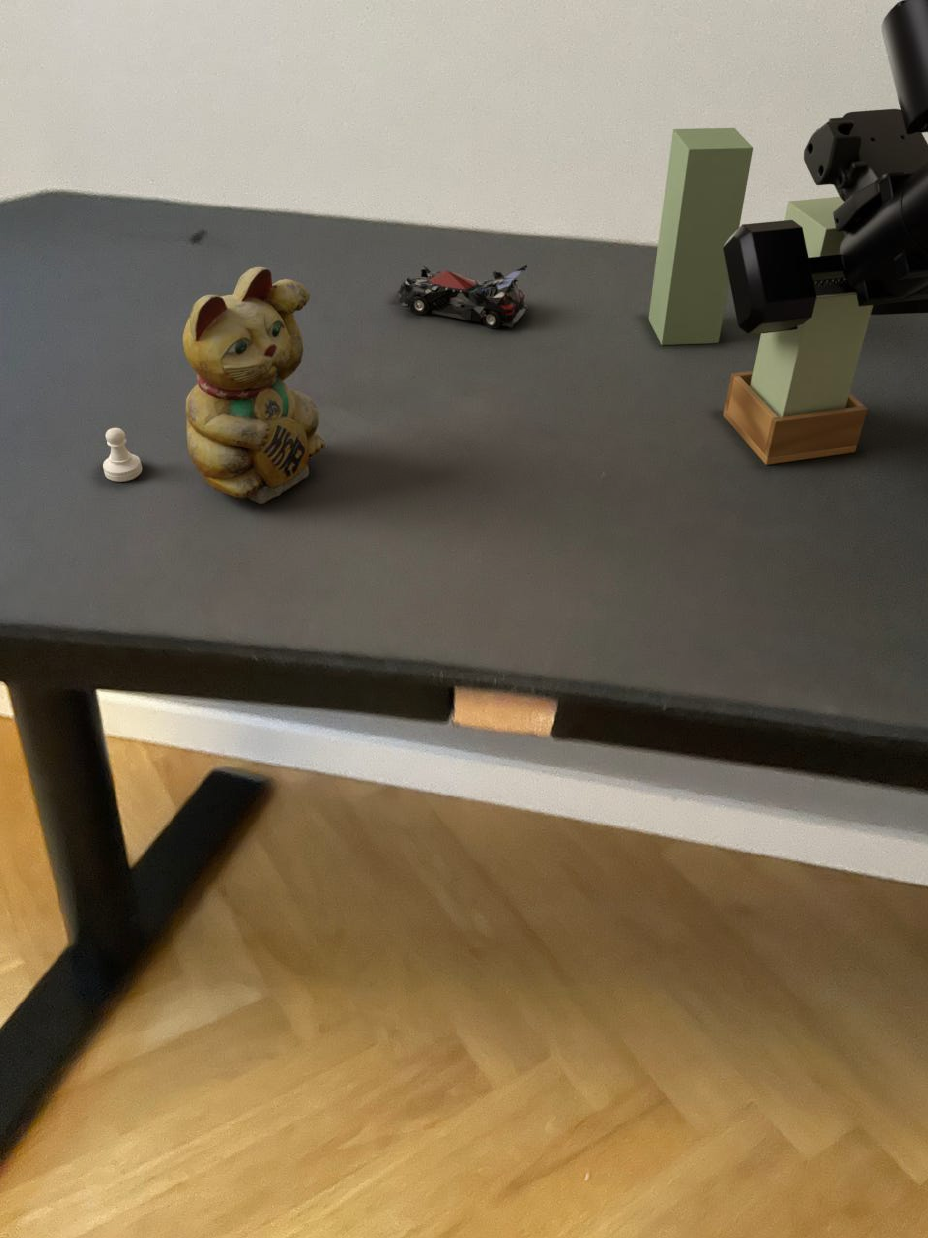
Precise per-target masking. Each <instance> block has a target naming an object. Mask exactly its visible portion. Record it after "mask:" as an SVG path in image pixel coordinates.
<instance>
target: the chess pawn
mask: <svg viewBox="0 0 928 1238" xmlns="http://www.w3.org/2000/svg"><path fill="white" fill-rule="evenodd" d="M105 439H106V441H107V442H106V445H107V446H108V447H110V454H109V456H108V457H107V458H106V459H105V460H104V461H103V464H102V467H103V472H104V476H105V477H106V478H107V479H108V480H109V481H112V482H117V483H122V482H129V481H132V480H134V479H136V478H137V477H139V476H140V475H141V474H142V473H143V465H142V462H141V458H140V457H139V456H138V455H136V454H133V453H131V452H130V451H128V449H127V448H126V446H125V444H126V443H127V439H126V433H125V432H124V430H123V429H121V428H119V427H111V428H109V429H107V431H106V432H105Z"/></svg>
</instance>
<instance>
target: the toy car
mask: <svg viewBox="0 0 928 1238" xmlns="http://www.w3.org/2000/svg"><path fill="white" fill-rule="evenodd" d="M527 268H528V264H524V265H523V266H521V267H519V268H517V269H516V270H514V271H512V272H511V273H509V274H507V275H505V276H504V275H503V274H502V272H501V271H497V270H493V271H492V277H493V278H492V279H487V280H476V279H473V278H471V277H467V276H464V275H462V274H459V273H456V272H453V271H450V270H448V269H445V270H444V271H442V272H441V270H439V271H431V270H430V269H429V267H427V266H424V265H421V268H420V270H421V271H420V272H421V274H420V277H417V278H411V277H407V278H406V280H405V279H404V280H403V281H402V284H401V285H400V287H399V289H398V290H397V291H396V296H397V297H398V298H399V300H397V303H399V304H400V305H401V306H402V307H405V308H409V309H411V311H412V312H413V313H414V314H416V315H421V316H423V315H426V314H427V313H428V312H429V311H430V310H431V314H433V315H438V316H443V317H447V318H453V319H458V320H463V321H472V322H473V321H474V322H483V324H484V325H485V326H486V327H488V328H490V329H497V328H499V327H500V326H501V327H505V326H506V327H508V328H513V327H514V324H516V323H517V322H518V321H519V320H520V319H521V318H522V316H523V315H524V313H525V311H526V310H528V309H529V307H528V304H526V303H524V302H525V294H524V291H522V290H521V289H520V288H519V287H518V285H517V282H519V279H517V278H518V277H519V275H520V274H521V273H522V272H524V271H526V269H527Z"/></svg>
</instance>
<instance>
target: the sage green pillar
mask: <svg viewBox="0 0 928 1238" xmlns="http://www.w3.org/2000/svg"><path fill="white" fill-rule="evenodd" d="M843 203H844V201H843V200H842V199H841V197H840V196H835V197H834V196H833V197H824V198H813V199H801V200H791V201H790V200H789V201H788V202H787V206H786V209H785V215H784V219H783V221H784V220H793V221H795V222H796V223H797V224H799V225H800V226H801V227H803V232H804V237H805V242H806V247H807V252H808V257H809V258H810V257H820V256H830V255H840V246H841V242H842V240H843V239H844V238H845V235H844V231H839V232H838V231H837V230H836V226H835V221H834V216H833V212H834V211H835V210H836V209H837V208H838V207H840V206H841V205H842V204H843ZM839 280H840V279H839ZM839 280H838V281H839ZM844 280H845V279H844ZM832 281H834V280H832ZM822 282H823V281H821V283H822ZM827 282H828V281H827ZM815 284H816V282H815ZM872 308H873V305H869V306H860V307H859V305H858V300H857V295H847V296H838V297H829V298H820V299H816V301H815V306H814V310H813V314H812V318H810V319H809V320H808V321H806V322H805V323H803V324H801V325H798V326H797V327H798V328H797V329H796V330H788V331H779V332H771V333H760V336H759V341H758V346H757V351H756V356H755V360H754V366H753V370H752V371H753V375H752V380H751V385H750V387H751V389H752V390H753V391H754V392H755V393H756V394H757V395H758V396H759V397H760V398H761V399H762V400H763V401H764V402H765V403H766V404H767V405H768V407H769V408H770V409H771V410H772V411H773V412H774V413H775V414H776V415H777V416H778V418H779V417H786V416H793V415H801V414H808V413H816V412H823V411H831V410H838V409H845V407H846V403H847V400H848V396H849V392H850V393H851V389H852V384H853V381H854V378H855V374H856V369H857V367H858V362H859V359H860V356H861V352H862V349H863V344H864V341H865V337H866V334H867V330H868V327H869V322H870V319H871V316H872V315H871V312H872Z"/></svg>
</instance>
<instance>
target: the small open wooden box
mask: <svg viewBox="0 0 928 1238" xmlns="http://www.w3.org/2000/svg"><path fill="white" fill-rule="evenodd" d="M752 375H753V370H748V371H742V372H734V373H733V372H732V373H730V377H729V383H728V388H727V393H726V399H725V404H724V409H723V414H722V415H723V417H724V419H725V420H726V421H727V422H728V423H729V424H730V425H731V427H732V428H733V429H734V430H735V431H736V432H737V434H739V436H740V437H741V438H742V439H743V441H744V442H745V443H746V444H747V445H748V446H749V447H750V449H752V451H753V452H754V453H755V455H757V456H758V458H759V459H760V460H761V461H762V462H763V463H764V465H766V466H768V465H775V464H782V463H788V462H789V463H790V462H796V461H804V460H811V459H817V458H824V457H832V456H837V455H845V454H852V453H855V452H856V450H857V447H858V446H857V445H858V444H859V440H860V436H861V433H862V430H863V426H864V423H865V419H866V417H867V413H868V408H867V407H866V406H865V405H864V404H863V403H862V402H861V401H860V400H859V399H858V398H857V397H855V395H853V394H852V393H851V391H850V392H849V396H848V400H847V403H846V407H845V409H838V410H831V411H823V412H816V413H808V414H801V415H793V416H786V417H779V418H778V416H777V415H776V414H775V413H774V412H773V411H772V410H771V409H770V408H769V407H768V405H767V404H766V403H765V402H764V401H763V400H762V399H761V398H760V397H759V396H758V395H757V394H756V393H755V392H754V391H753V390H752V389H751V387H750V385H751V380H752Z"/></svg>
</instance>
